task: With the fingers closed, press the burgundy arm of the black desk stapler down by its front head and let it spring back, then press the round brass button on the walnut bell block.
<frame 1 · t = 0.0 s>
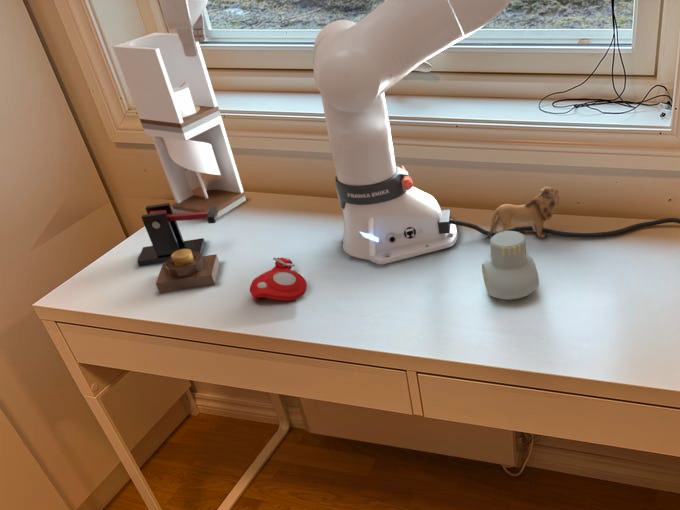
hand: (195, 48, 111), 39 cm above the table, tool pointing down, fingers open, 8 cm apart
bell button: (182, 257, 129), point 4 cm above the table, slide at 0.1 cm
lion figurine: (524, 235, 136), on the table
stapler: (173, 254, 140), on the table
tracker holder: (285, 288, 127), on the table
display case: (211, 207, 157), on the table
bell block: (190, 278, 132), on the table
air freshener: (510, 291, 120), on the table
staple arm: (183, 216, 136), point 8 cm above the table, hinge at -4.7°
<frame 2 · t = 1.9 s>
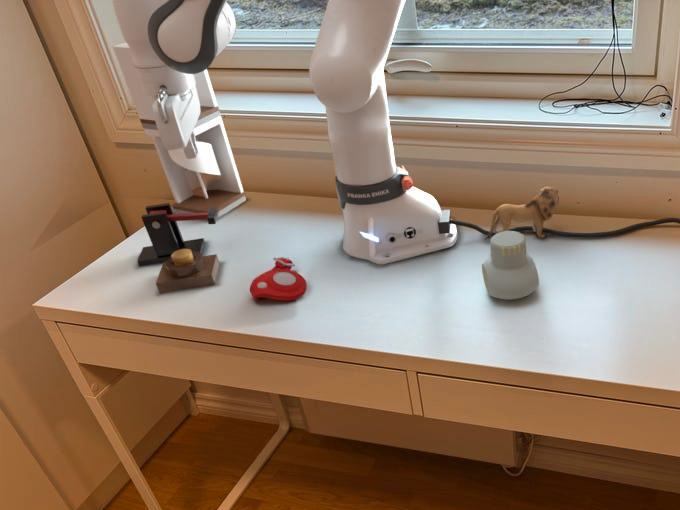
hand: (193, 155, 129), 19 cm above the table, tool pointing down, fingers closed
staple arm: (184, 217, 136), point 8 cm above the table, hinge at -5.8°
everything else where it was.
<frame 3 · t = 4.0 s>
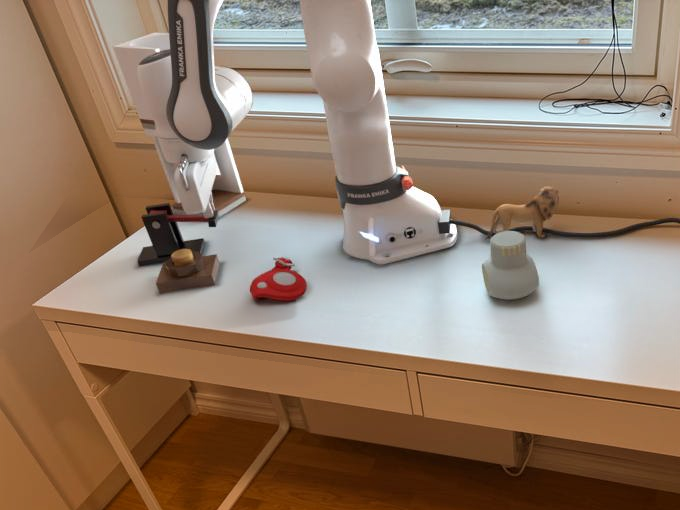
hand: (210, 214, 136), 7 cm above the table, tool pointing down, fingers closed, pressing on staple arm
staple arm: (184, 218, 136), point 7 cm above the table, hinge at -9.5°, touching gripper
everything else where it was.
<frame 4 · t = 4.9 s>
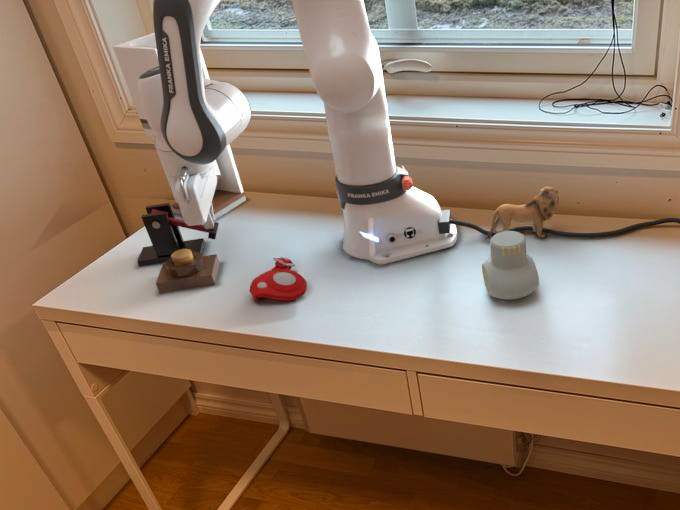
hand: (210, 225, 138), 5 cm above the table, tool pointing down, fingers closed, pressing on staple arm
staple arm: (184, 224, 136), point 6 cm above the table, hinge at -24.2°, touching gripper
everything else where it was.
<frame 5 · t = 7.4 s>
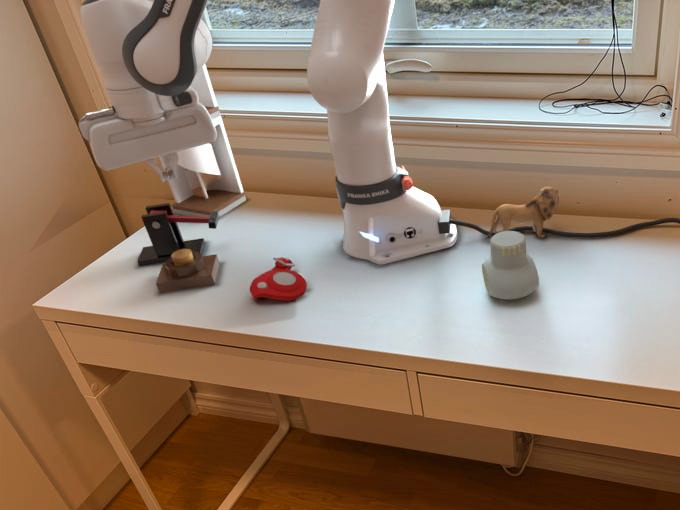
hand: (169, 179, 124), 18 cm above the table, tool pointing down, fingers closed
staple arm: (184, 219, 136), point 7 cm above the table, hinge at -11.1°
everything else where it was.
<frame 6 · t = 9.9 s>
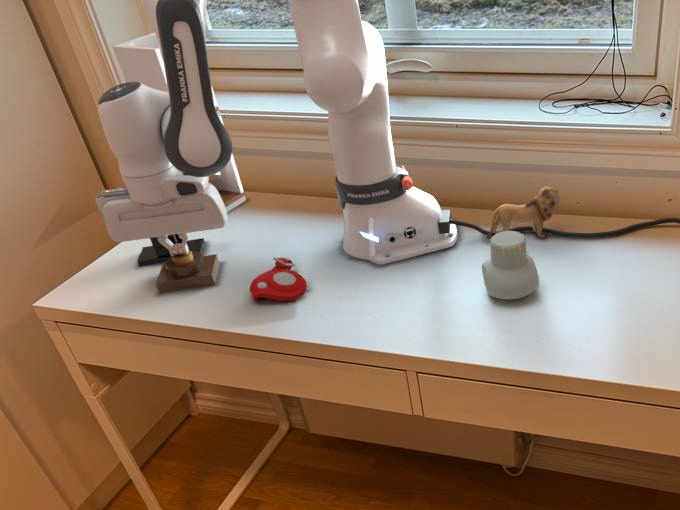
hand: (180, 254, 129), 5 cm above the table, tool pointing down, fingers closed, pressing on bell button
bell button: (183, 258, 129), point 4 cm above the table, slide at -0.1 cm, touching gripper
everything else where it was.
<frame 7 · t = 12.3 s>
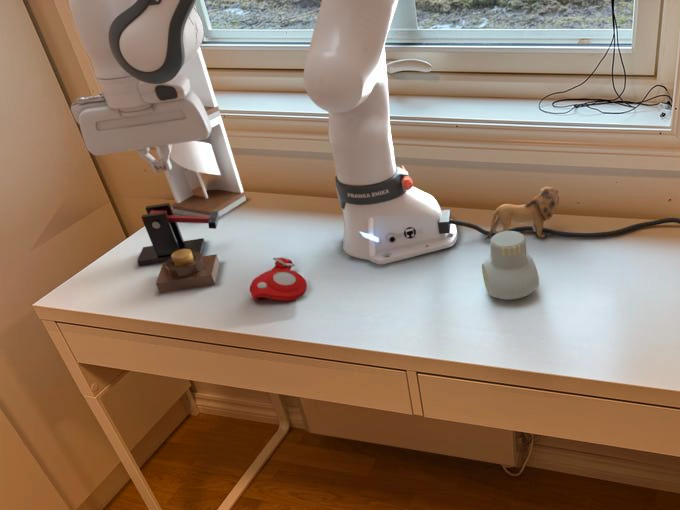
hand: (163, 170, 122), 20 cm above the table, tool pointing down, fingers closed
bell button: (182, 257, 129), point 4 cm above the table, slide at 0.1 cm
everything else where it was.
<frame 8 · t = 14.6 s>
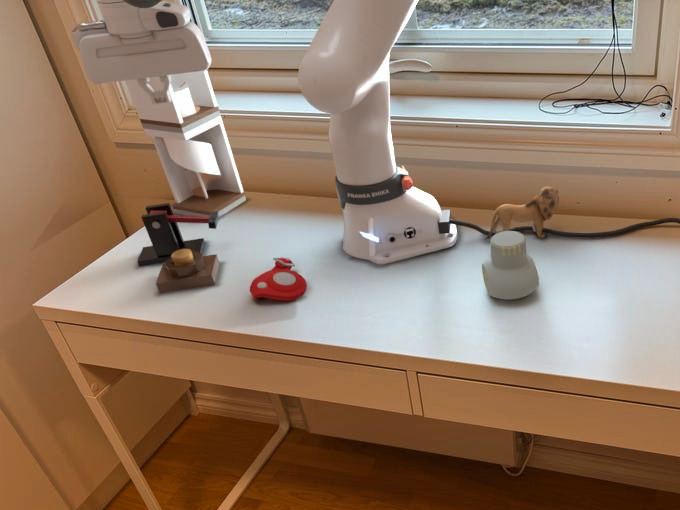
hand: (162, 102, 123), 29 cm above the table, tool pointing down, fingers closed
nothing on the table moved.
at the end: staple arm reached -24° during the clip, -11° at the end; bell button pushed in 1.1 cm at the most during the clip, back to where it started at the end; bell button slide at 0.1 cm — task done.
